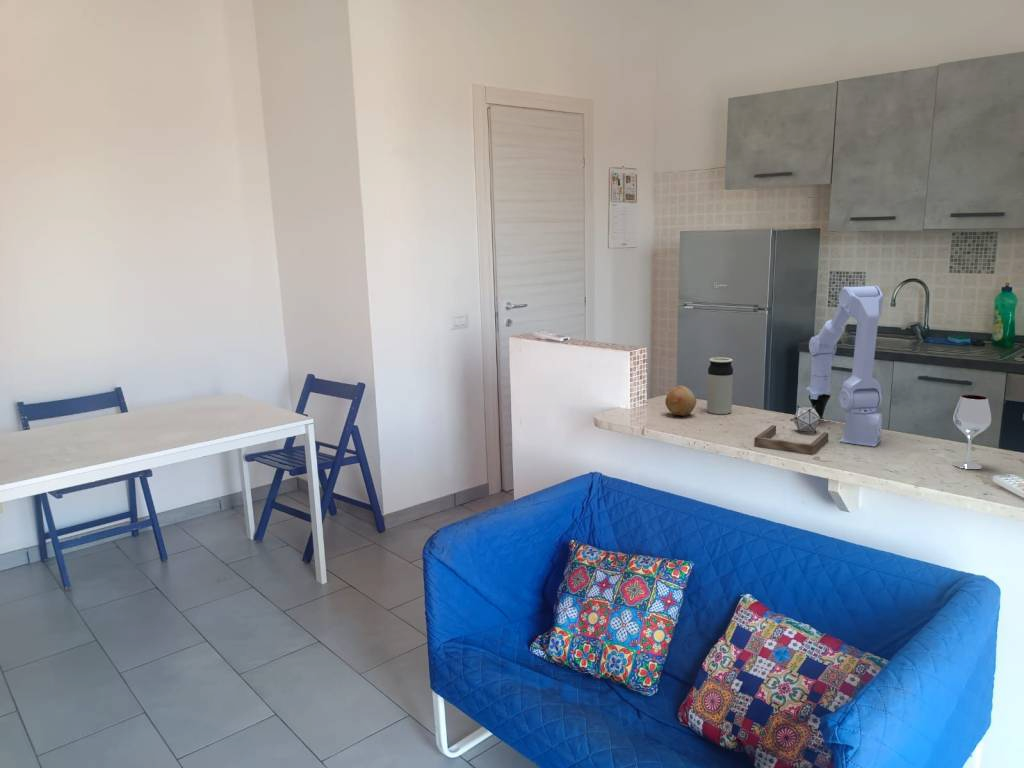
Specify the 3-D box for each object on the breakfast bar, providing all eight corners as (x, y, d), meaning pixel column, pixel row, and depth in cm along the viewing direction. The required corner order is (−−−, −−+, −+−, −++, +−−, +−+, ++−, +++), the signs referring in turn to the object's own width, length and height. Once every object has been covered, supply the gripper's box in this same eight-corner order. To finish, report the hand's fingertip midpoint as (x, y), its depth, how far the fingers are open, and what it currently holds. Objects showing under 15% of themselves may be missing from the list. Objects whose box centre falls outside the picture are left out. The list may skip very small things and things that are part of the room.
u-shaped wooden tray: (828, 441, 217) (828, 432, 217) (813, 454, 204) (813, 445, 204) (771, 433, 226) (772, 425, 226) (754, 446, 214) (754, 437, 213)
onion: (698, 419, 245) (699, 388, 243) (667, 419, 246) (668, 389, 244) (693, 412, 255) (694, 382, 253) (663, 412, 255) (663, 383, 253)
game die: (809, 445, 226) (816, 425, 219) (783, 432, 230) (789, 411, 223) (823, 426, 230) (830, 405, 223) (797, 413, 234) (803, 392, 227)
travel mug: (728, 415, 248) (730, 361, 245) (703, 413, 252) (705, 360, 249) (734, 410, 255) (736, 358, 252) (710, 408, 259) (712, 356, 256)
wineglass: (993, 469, 190) (1001, 399, 186) (968, 472, 187) (975, 401, 184) (966, 460, 197) (973, 392, 194) (941, 463, 195) (947, 395, 191)
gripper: (813, 370, 244) (811, 411, 246) (801, 377, 232) (798, 420, 235) (836, 372, 239) (834, 414, 242) (825, 380, 228) (822, 423, 231)
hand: (818, 417), depth 238 cm, fingers closed
